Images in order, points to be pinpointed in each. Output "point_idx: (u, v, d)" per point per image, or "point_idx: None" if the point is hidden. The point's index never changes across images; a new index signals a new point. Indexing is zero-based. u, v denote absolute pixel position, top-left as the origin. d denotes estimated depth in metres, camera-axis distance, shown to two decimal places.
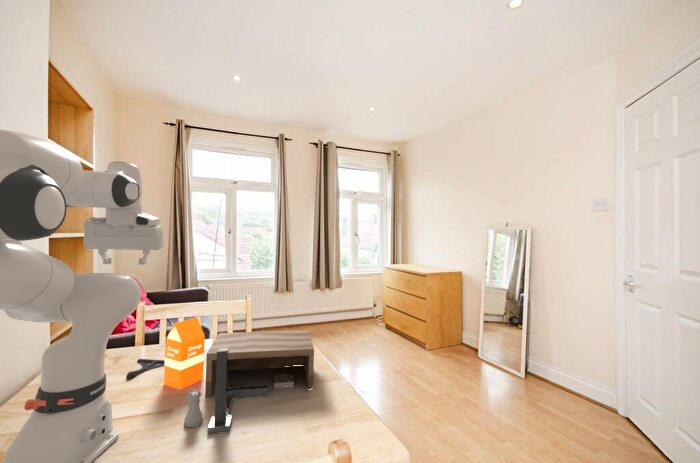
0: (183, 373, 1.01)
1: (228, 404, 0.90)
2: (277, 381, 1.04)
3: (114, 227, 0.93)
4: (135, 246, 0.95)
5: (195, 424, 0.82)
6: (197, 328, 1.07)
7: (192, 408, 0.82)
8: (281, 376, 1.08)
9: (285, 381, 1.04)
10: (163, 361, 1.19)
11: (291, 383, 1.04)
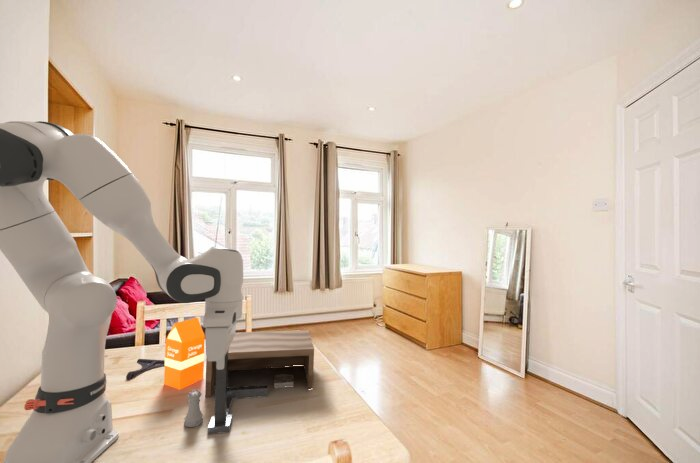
0: (183, 373, 1.01)
1: (228, 404, 0.90)
2: (277, 381, 1.04)
3: None
4: None
5: (195, 424, 0.82)
6: (197, 328, 1.08)
7: (192, 408, 0.82)
8: (281, 376, 1.08)
9: (285, 381, 1.04)
10: (163, 361, 1.19)
11: (291, 383, 1.04)
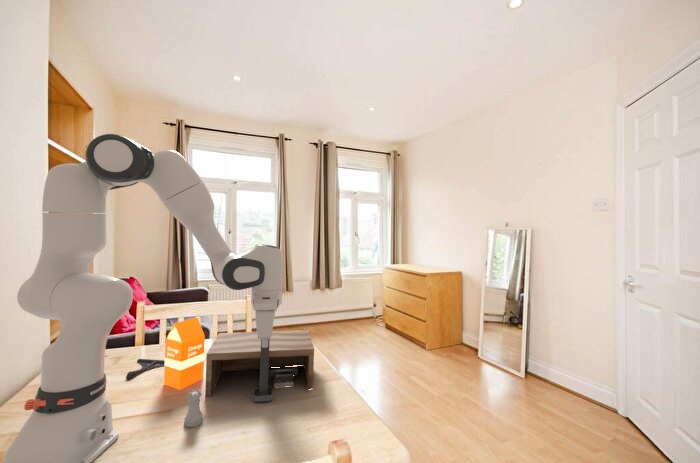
0: (183, 373, 1.01)
1: None
2: (277, 381, 1.04)
3: None
4: None
5: (195, 424, 0.82)
6: (197, 328, 1.08)
7: (192, 408, 0.82)
8: (281, 376, 1.08)
9: (284, 381, 1.04)
10: (163, 361, 1.19)
11: (291, 383, 1.04)
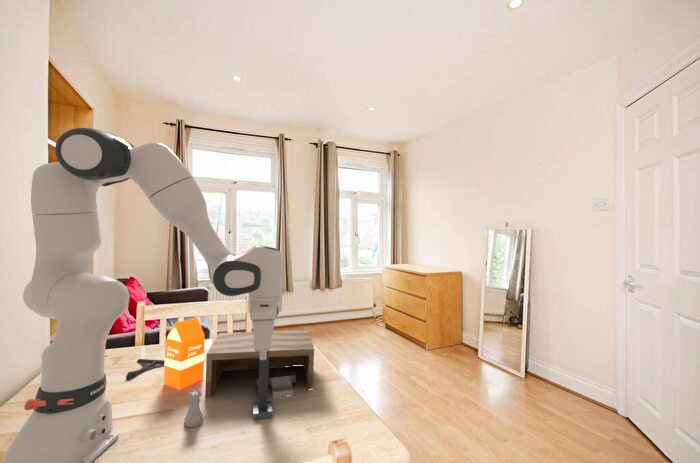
0: (183, 373, 1.01)
1: None
2: (275, 389, 0.98)
3: None
4: None
5: (195, 424, 0.82)
6: (197, 328, 1.08)
7: (192, 408, 0.82)
8: (279, 384, 1.02)
9: (284, 389, 0.98)
10: (163, 361, 1.19)
11: (290, 391, 0.98)
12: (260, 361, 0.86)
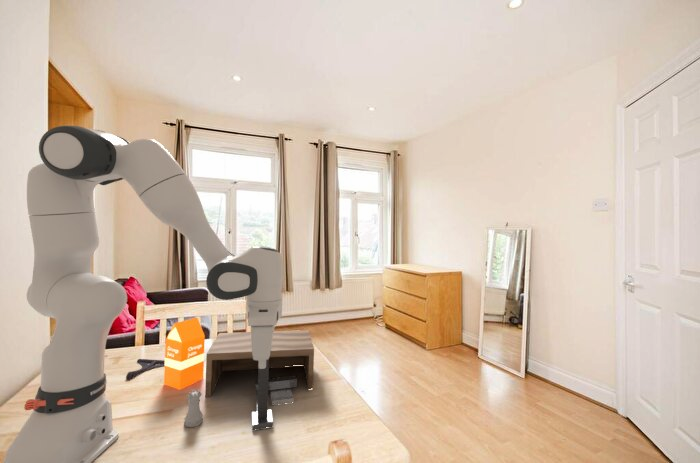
0: (183, 373, 1.01)
1: None
2: (275, 398, 0.94)
3: None
4: None
5: (195, 424, 0.82)
6: (197, 328, 1.07)
7: (192, 408, 0.82)
8: (278, 392, 0.97)
9: (284, 398, 0.94)
10: (163, 361, 1.19)
11: (291, 399, 0.94)
12: (259, 370, 0.81)
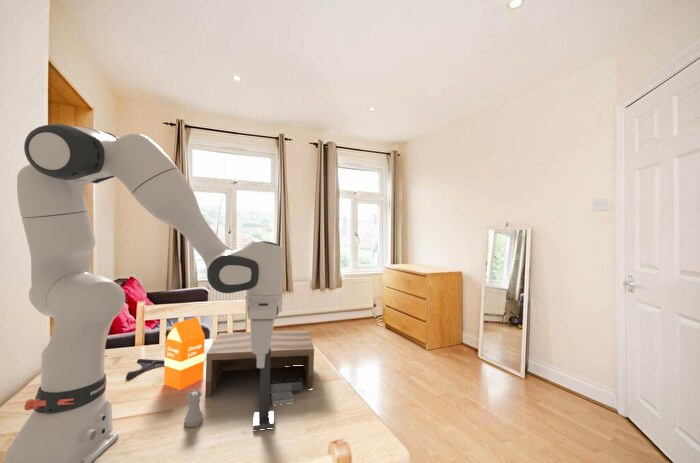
0: (183, 373, 1.01)
1: None
2: (275, 398, 0.93)
3: None
4: None
5: (195, 424, 0.82)
6: (197, 328, 1.07)
7: (192, 408, 0.82)
8: (278, 392, 0.97)
9: (284, 399, 0.94)
10: (163, 361, 1.19)
11: (291, 400, 0.94)
12: (261, 370, 0.81)
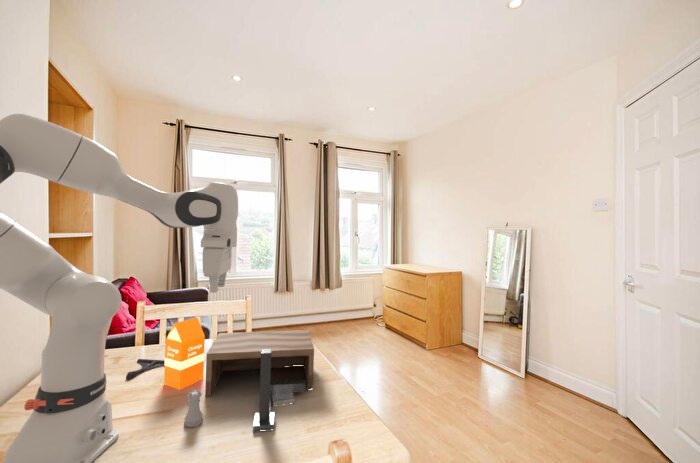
0: (183, 373, 1.01)
1: None
2: (276, 399, 0.93)
3: None
4: None
5: (195, 424, 0.82)
6: (197, 328, 1.07)
7: (192, 408, 0.82)
8: (279, 393, 0.97)
9: (285, 399, 0.93)
10: (163, 361, 1.19)
11: (292, 400, 0.94)
12: (261, 371, 0.80)
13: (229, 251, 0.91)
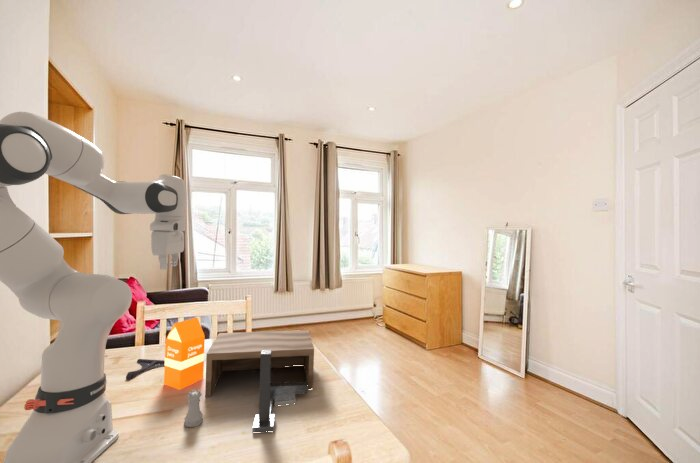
0: (183, 373, 1.01)
1: (270, 401, 0.90)
2: (277, 399, 0.93)
3: None
4: None
5: (195, 424, 0.82)
6: (197, 328, 1.07)
7: (192, 408, 0.82)
8: None
9: (286, 399, 0.93)
10: (163, 361, 1.19)
11: (293, 401, 0.93)
12: (261, 372, 0.80)
13: (178, 234, 1.05)
